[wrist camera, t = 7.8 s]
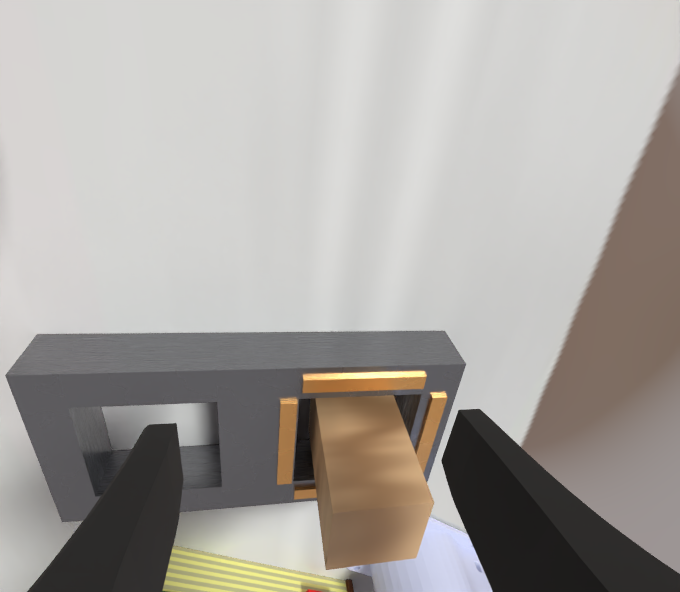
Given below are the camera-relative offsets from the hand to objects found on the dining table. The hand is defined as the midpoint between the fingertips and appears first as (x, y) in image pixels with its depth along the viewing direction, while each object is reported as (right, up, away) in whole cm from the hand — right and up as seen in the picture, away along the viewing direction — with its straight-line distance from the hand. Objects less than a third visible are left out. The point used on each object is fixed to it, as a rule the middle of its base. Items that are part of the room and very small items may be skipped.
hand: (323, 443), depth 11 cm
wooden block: (+1, -2, +14) cm, 14 cm away
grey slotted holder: (-4, -2, +13) cm, 14 cm away
